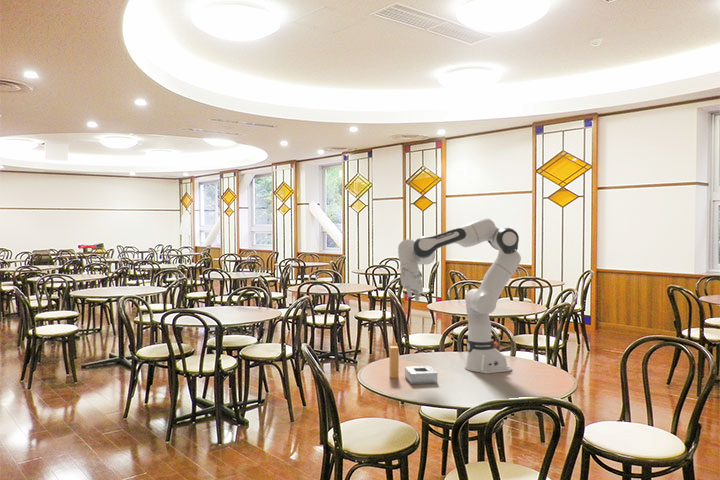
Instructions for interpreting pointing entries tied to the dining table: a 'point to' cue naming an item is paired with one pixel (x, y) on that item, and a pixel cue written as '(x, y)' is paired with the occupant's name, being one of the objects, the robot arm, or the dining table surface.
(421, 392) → the dining table surface
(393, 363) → the rectangular peg
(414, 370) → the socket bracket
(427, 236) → the robot arm
